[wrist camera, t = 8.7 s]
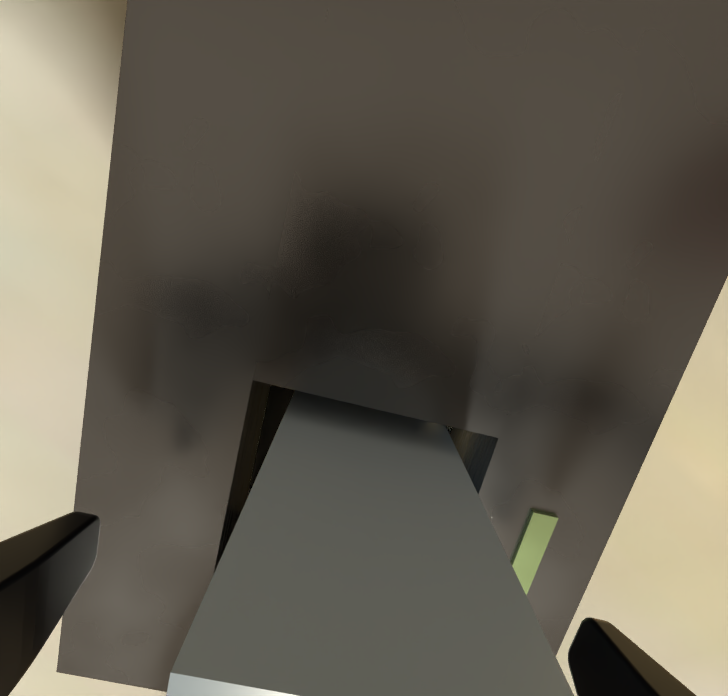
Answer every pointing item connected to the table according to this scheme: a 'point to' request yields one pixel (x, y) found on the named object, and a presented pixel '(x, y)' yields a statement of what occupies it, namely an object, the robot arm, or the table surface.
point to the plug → (364, 573)
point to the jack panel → (392, 270)
